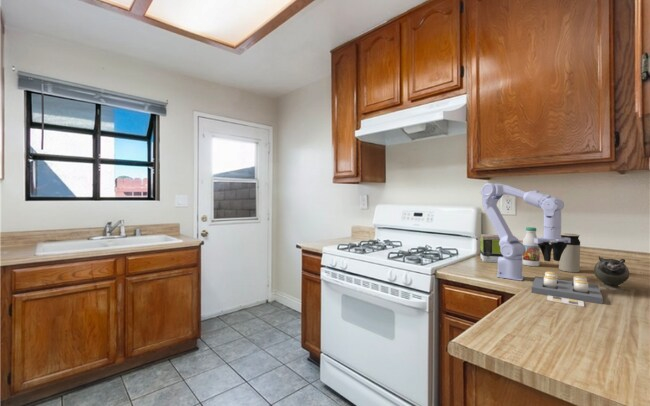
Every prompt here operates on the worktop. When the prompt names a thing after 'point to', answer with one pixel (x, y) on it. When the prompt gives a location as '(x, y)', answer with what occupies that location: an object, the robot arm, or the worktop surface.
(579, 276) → the far-right button
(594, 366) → the worktop surface
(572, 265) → the travel mug
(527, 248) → the milk bottle
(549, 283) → the near-left button
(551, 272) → the far-left button
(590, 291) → the button board
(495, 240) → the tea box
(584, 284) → the near-right button
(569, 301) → the card
